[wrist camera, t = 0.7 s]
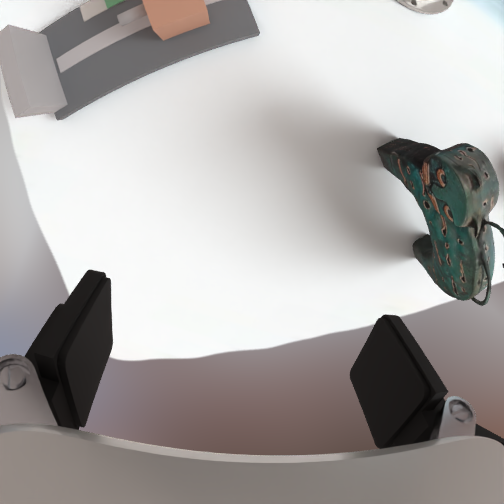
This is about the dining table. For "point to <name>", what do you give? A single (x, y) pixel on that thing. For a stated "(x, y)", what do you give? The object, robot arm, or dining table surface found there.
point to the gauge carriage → (169, 16)
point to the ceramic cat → (450, 212)
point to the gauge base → (103, 53)
